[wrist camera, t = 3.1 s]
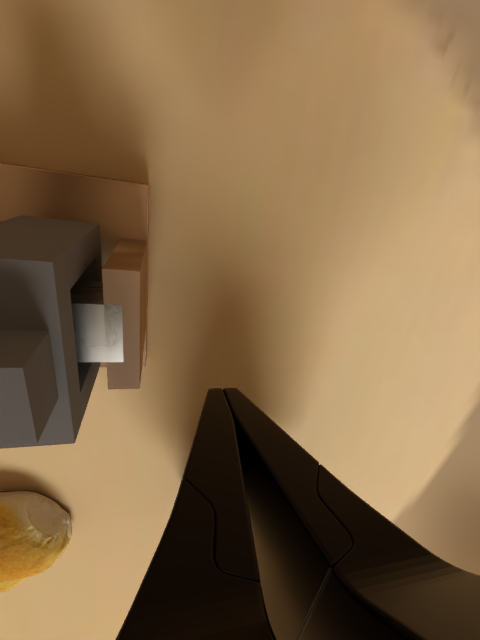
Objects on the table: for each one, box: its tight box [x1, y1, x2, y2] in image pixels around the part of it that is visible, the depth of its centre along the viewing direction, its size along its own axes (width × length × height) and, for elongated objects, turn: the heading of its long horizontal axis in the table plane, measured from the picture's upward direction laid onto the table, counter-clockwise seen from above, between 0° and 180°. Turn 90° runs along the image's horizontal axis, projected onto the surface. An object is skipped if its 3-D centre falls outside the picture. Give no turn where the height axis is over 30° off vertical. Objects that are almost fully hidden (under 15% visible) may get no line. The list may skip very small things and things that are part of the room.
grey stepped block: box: [0, 215, 102, 449], centre depth 11 cm, size 3×6×8 cm, turn 171°
